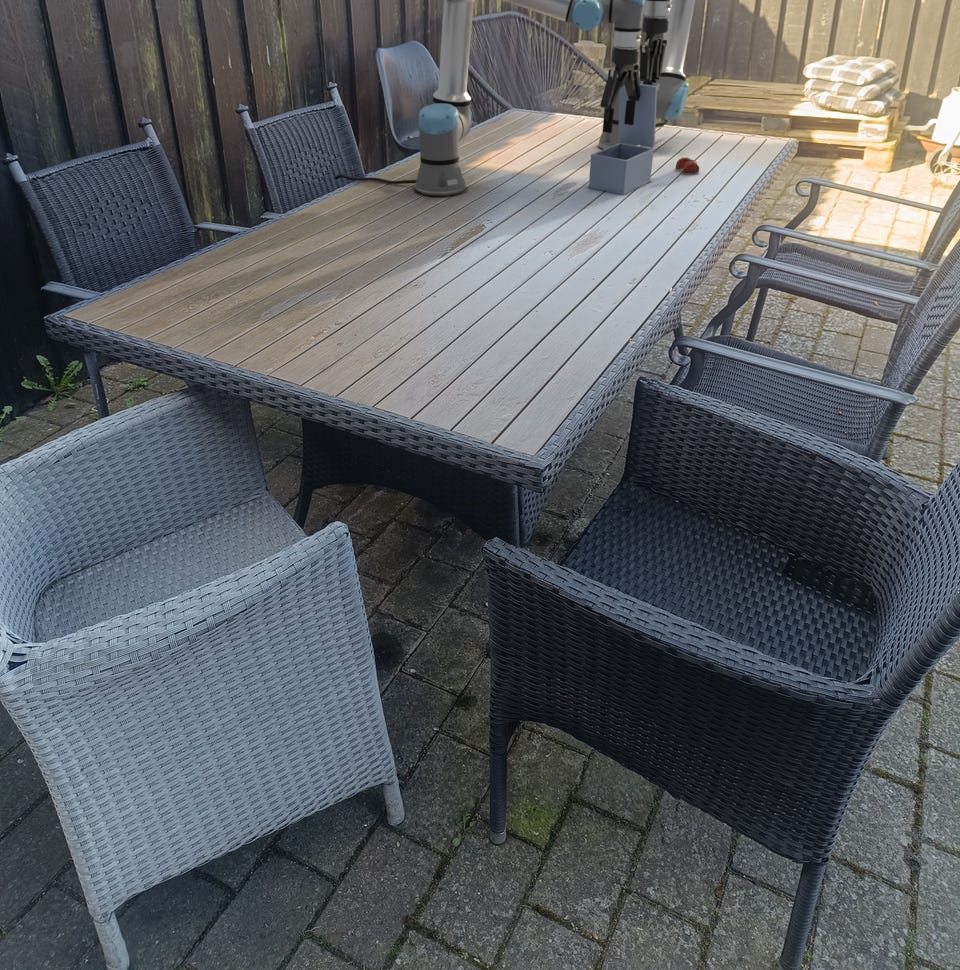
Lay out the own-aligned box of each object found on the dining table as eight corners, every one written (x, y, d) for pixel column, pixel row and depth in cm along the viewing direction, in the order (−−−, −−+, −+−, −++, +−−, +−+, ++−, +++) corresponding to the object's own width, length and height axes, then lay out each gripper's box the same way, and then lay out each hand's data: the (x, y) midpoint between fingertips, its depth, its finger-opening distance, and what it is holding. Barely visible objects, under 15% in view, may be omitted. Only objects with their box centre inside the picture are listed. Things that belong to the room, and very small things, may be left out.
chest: (623, 194, 254) (626, 161, 249) (588, 187, 260) (591, 154, 255) (650, 181, 266) (653, 148, 260) (616, 174, 272) (619, 142, 266)
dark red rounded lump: (690, 153, 276) (701, 160, 269) (689, 167, 278) (700, 174, 272) (674, 155, 275) (685, 162, 268) (673, 169, 277) (684, 175, 271)
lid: (655, 87, 247) (669, 76, 252) (619, 82, 253) (633, 72, 258) (653, 147, 259) (667, 137, 264) (618, 141, 265) (632, 131, 270)
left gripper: (616, 54, 228) (608, 137, 240) (658, 44, 244) (648, 122, 256) (592, 51, 231) (585, 133, 244) (635, 41, 247) (627, 119, 260)
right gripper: (656, 21, 239) (646, 109, 252) (679, 14, 248) (669, 100, 262) (632, 18, 242) (624, 106, 256) (657, 12, 252) (648, 97, 266)
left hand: (618, 128), depth 250 cm, fingers open, 12 cm apart
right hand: (647, 103), depth 259 cm, fingers closed on lid, 2 cm apart
